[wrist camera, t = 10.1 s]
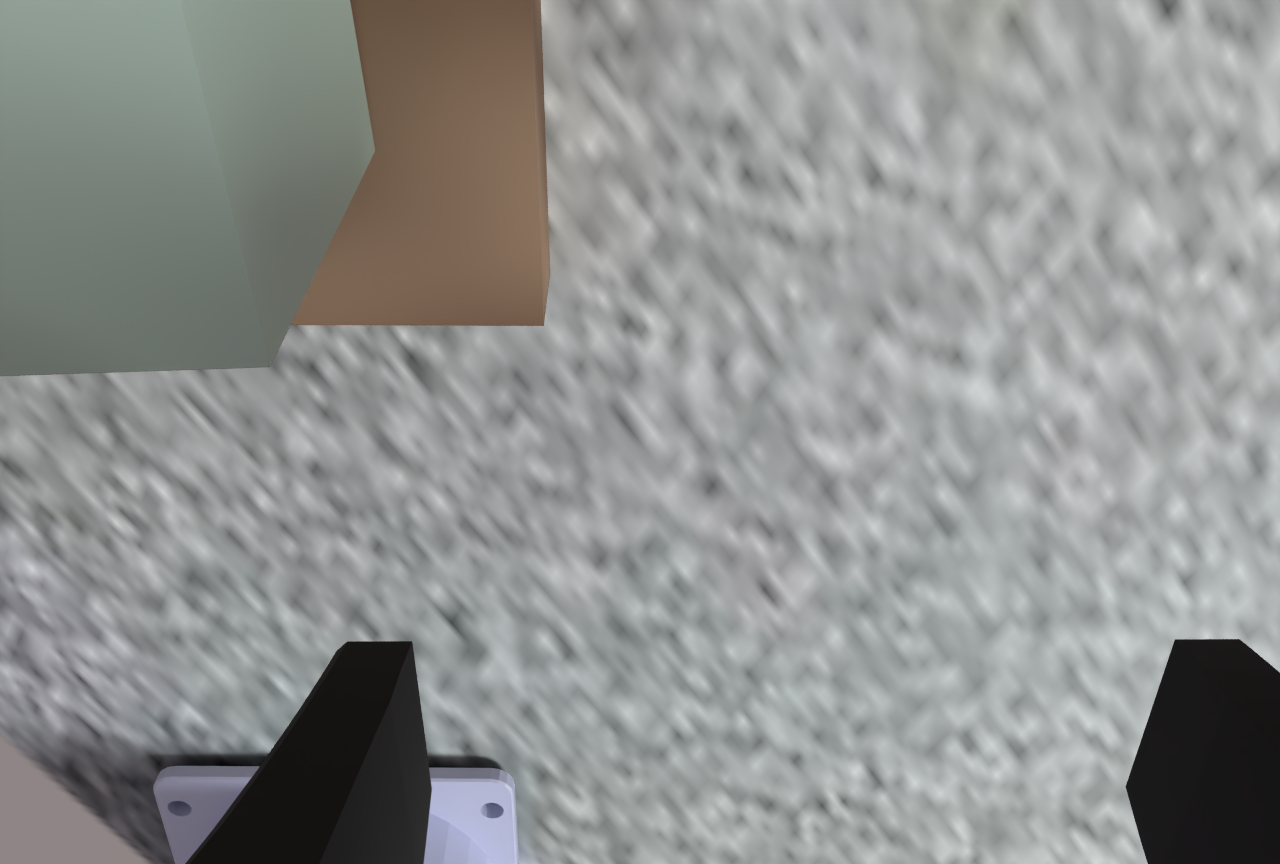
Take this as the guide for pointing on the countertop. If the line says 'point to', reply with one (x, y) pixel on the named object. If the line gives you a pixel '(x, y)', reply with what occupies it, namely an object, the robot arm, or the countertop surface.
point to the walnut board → (444, 172)
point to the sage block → (170, 177)
